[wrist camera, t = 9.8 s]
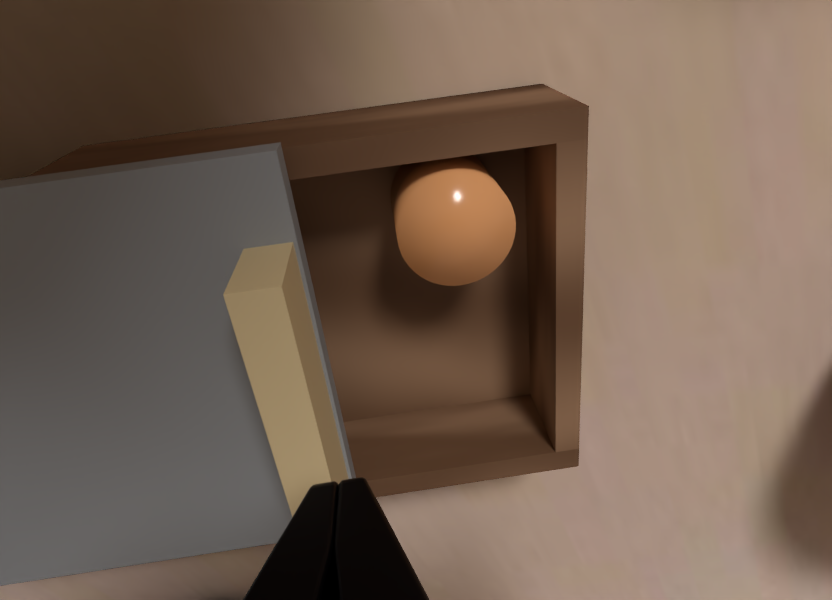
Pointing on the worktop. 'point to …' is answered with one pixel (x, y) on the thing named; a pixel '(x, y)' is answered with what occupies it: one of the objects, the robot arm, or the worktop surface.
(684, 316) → the worktop surface
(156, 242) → the lid
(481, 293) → the box
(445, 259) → the brown egg
